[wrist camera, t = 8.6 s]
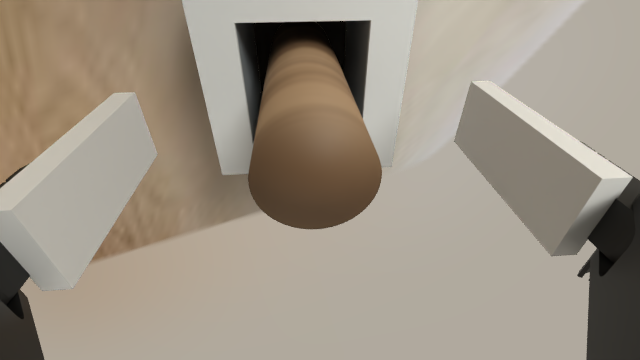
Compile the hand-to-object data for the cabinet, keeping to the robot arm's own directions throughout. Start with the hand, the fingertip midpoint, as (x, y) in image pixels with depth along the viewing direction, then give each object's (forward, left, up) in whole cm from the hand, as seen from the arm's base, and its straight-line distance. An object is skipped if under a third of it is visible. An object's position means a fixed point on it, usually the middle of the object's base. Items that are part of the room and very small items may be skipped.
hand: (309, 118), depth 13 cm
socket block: (0, 0, -11) cm, 11 cm away
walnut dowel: (0, 0, -11) cm, 11 cm away
